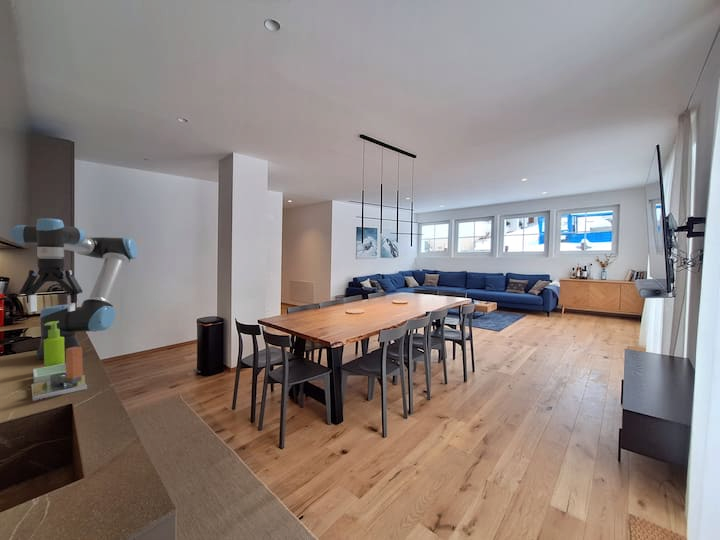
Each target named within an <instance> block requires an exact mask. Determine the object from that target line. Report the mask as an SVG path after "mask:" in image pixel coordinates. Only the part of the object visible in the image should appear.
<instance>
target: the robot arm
mask: <svg viewBox="0 0 720 540" xmlns="http://www.w3.org/2000/svg"><path fill="white" fill-rule="evenodd" d="M11 238H12V240H14V241H15V242H16V243H18V244H25V245H27V244H28V245H30V244H31V245H32V244H33V245H36V246H37V247H36V248H37V249H36V250H37V254H36V255H37V257H38V259H37V268H38V270H37V269H31V270H29V271H28V276H27V278H26V280H25V281H24V284H23V286H22V288H21V289H20V292H19V293H20V294H21V295H22V294H23V295H25V297H26V304H28V313H33V312H37V311H38V295H37V294H36V293H37V291H38V290H40V288H41V287H42V286H43V285H44V284H45V283H46V282H53V283H54V282H56V283H57V284H59V285H60V286H61V287H62V288H63V289H64V290H65V291H66V292H67V293H68V294H67V296H66V297H67V304H60V305H59V304H57V305H53V306H47V307H44V308H42V309H41V310H40V316H39V321H40V343H38V348H37V350H36V352H35V358H36V360H44V339H46V338H48V330H50V329H51V325H45V326H44V324H46V323H48V322H51V321H59V323H57V328H58V329H60V337H64V347H65V358H66V349H68V348H72V347H82V346H81V344H80V342H79V339H78V337H77V333H78V332H79V333H81V332H84V333H85V332H91V333H92V332H93V333H94V332H95V333H96V332H103V331H106V330H107V329H110V328H111V327H112V325H113V324H114V322H115V320H116V314H117V313H116V310H115V308H114V306H113V304H112V303H111V302H112V300H113V297H114V294H115V292H116V289H117V286H118V284H119V281H120V279H121V276H122V273H123V270H124V267H125V266H128V265H129V263H130V261H131V260H134V259H137V257H138V251H139V250H138V246H137V244H136V241H135V240H134V239H132V238H131V237H108V236H107V237H103V236H101V237H88V236H86V233H85V232H84V230H83V229H81V228H78V227H76V226H67V225H65V224H64V222H63V220H62V219H58V218H46V217H44V218H38V219H37V220H36V225H28V224H25V225H24V224H21V225H16V226H14V227H13V228H12V229H11ZM65 251H71V252H75V253H76V254H78V255H82V256H86V257H90V258H96V259H103V260H104V262H103V264H102V266H101V269H100V271H99V274H98V275H97V276H98V277H97V279H96V280H95V283H94V286H93V288H92V290H91V293H90V295H89V298H87V299H84V300H83V301H82V303H81V305H80V306H76V304H77V302H78V294H82V293H83V289H82V287H81V286H80V284H79V282H78V281H77V279H76V277H75V276H74V275H75V274H74V271H73V270H72V269H71V270H64V269H65V268H64V267H65V259H64V258H65ZM38 276H39V277H38ZM64 276H65V277H64Z"/></svg>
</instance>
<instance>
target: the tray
mask: <svg viewBox="0 0 720 540" xmlns="http://www.w3.org/2000/svg"><path fill="white" fill-rule="evenodd" d="M32 370H33V371H32V373H33V374H32V375H33V384H35V383H40V382H45V381H50V376H51V375H54V374H58V373H66V362H65V364H59V365H54V366H48V367H44V366H43V367H38V368H33V369H32Z"/></svg>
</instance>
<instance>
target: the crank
mask: <svg viewBox="0 0 720 540" xmlns="http://www.w3.org/2000/svg"><path fill="white" fill-rule="evenodd" d="M65 363H66V373H58V374H54V375H51V376H50V386H59V385H63V384H66V383H69V384H74V383H77V382H79V381H82V377H81V376H83V375H84V370H83V368H84V366H83V364H84V363H83V347H82V346H81V347H72V348H68V349H66V357H65Z"/></svg>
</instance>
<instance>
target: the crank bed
mask: <svg viewBox="0 0 720 540" xmlns="http://www.w3.org/2000/svg"><path fill="white" fill-rule="evenodd" d="M81 377H82V381H79V382H77V383H74V384H69V383H66V384H63V385H59V386H50V381H45V382H40V383H35V384H34V383H31V395H32V398H31V399H32V402H36V401H39V399H40V400H43V398H45V399H49V398H53V397H56V396H61V395H65V394H71V393H74V392H79V391H83V390H87V389H88V385H87V382H86V374H83V376H81Z"/></svg>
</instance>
